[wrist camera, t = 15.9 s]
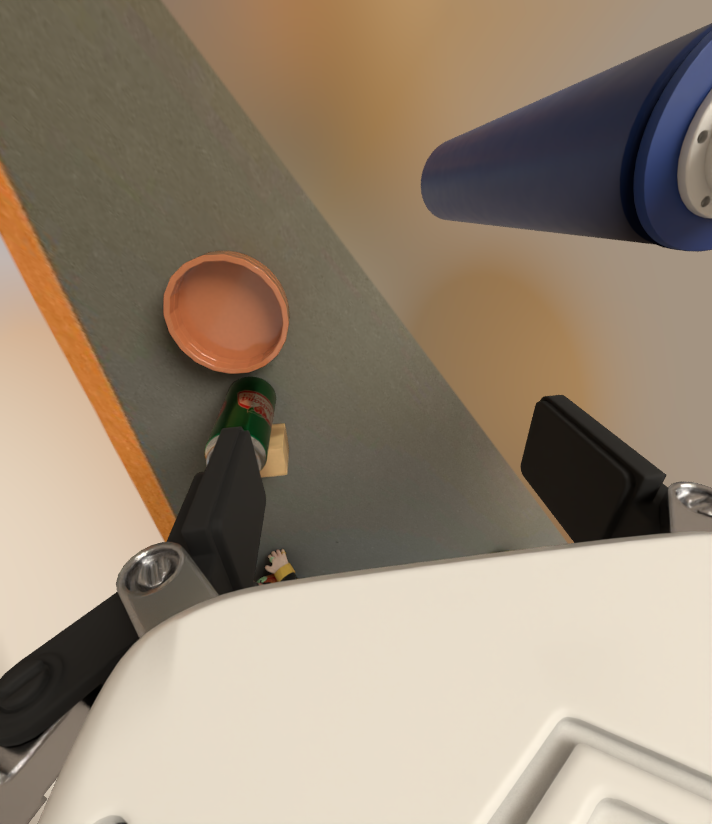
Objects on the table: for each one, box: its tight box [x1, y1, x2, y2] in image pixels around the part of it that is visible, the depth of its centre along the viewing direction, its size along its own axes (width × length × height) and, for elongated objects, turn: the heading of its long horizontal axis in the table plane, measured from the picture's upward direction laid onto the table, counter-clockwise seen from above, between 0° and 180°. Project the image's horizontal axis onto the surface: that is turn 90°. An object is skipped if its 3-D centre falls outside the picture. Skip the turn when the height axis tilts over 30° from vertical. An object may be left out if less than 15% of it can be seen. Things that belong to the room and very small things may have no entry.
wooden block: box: [260, 423, 289, 477], centre depth 40 cm, size 6×4×5 cm, turn 92°
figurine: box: [253, 549, 298, 587], centre depth 49 cm, size 10×10×15 cm
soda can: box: [204, 377, 276, 471], centre depth 34 cm, size 5×5×12 cm
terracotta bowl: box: [163, 251, 290, 374], centre depth 33 cm, size 11×11×3 cm
